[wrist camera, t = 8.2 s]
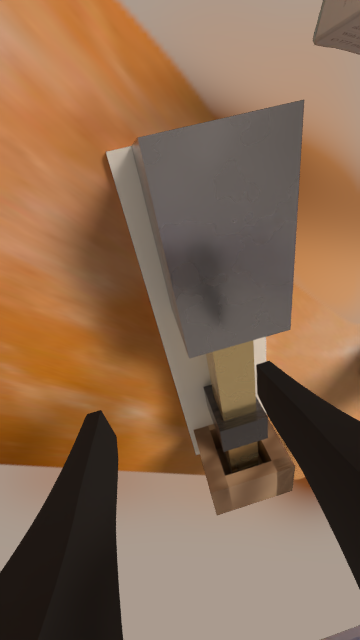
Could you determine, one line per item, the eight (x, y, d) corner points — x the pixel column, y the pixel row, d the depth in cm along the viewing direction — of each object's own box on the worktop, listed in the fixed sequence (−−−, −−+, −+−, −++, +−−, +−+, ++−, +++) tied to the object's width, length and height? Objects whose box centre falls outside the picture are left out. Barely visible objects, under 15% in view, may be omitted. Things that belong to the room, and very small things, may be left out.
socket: (262, 409, 28) (295, 466, 23) (262, 434, 31) (292, 490, 26) (193, 430, 28) (210, 493, 23) (200, 453, 31) (216, 515, 25)
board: (261, 116, 14) (264, 115, 14) (265, 430, 32) (266, 433, 31) (105, 152, 14) (105, 151, 14) (195, 452, 31) (196, 455, 31)
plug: (236, 286, 19) (267, 320, 15) (247, 432, 30) (267, 474, 26) (185, 300, 19) (203, 338, 15) (214, 442, 29) (229, 486, 25)
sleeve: (240, 120, 14) (304, 99, 9) (248, 288, 20) (290, 329, 15) (131, 146, 14) (137, 137, 9) (172, 309, 19) (189, 358, 15)
